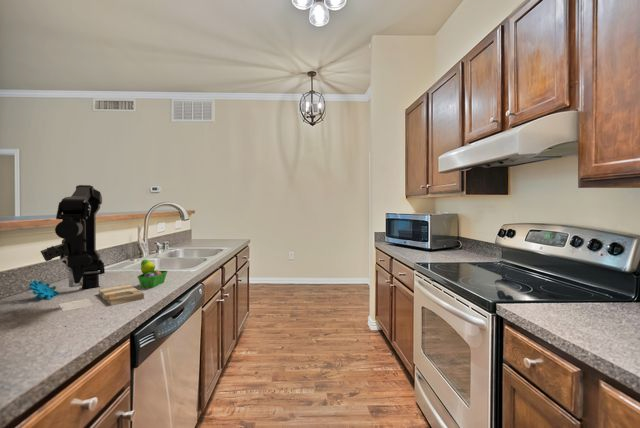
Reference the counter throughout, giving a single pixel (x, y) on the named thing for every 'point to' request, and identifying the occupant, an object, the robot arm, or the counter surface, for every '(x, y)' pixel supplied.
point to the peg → (71, 279)
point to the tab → (75, 304)
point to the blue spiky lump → (43, 290)
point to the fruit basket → (150, 275)
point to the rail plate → (120, 294)
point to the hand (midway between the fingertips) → (75, 282)
